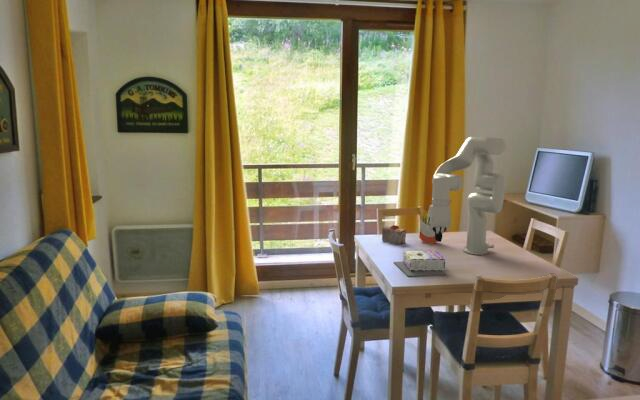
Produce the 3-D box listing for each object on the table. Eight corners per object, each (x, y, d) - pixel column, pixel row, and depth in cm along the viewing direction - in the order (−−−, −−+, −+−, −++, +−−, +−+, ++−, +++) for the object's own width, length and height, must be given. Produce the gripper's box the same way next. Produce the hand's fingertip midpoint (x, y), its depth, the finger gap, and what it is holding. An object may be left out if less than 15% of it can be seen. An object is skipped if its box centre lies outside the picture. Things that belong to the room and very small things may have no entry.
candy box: (435, 261, 235) (402, 262, 234) (436, 250, 234) (403, 250, 233) (444, 271, 221) (409, 271, 220) (445, 259, 220) (410, 259, 219)
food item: (408, 243, 270) (408, 226, 268) (400, 246, 264) (400, 228, 262) (388, 238, 279) (388, 222, 277) (379, 241, 273) (380, 224, 271)
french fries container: (437, 244, 267) (438, 213, 263) (418, 241, 273) (420, 210, 269) (440, 243, 270) (441, 211, 267) (422, 240, 276) (423, 209, 273)
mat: (428, 261, 237) (428, 260, 237) (445, 274, 218) (445, 273, 218) (393, 263, 234) (393, 261, 234) (407, 276, 215) (407, 275, 215)
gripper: (451, 200, 227) (449, 238, 230) (421, 201, 224) (420, 239, 227) (459, 203, 219) (456, 242, 223) (428, 204, 217) (426, 243, 220)
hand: (438, 241), depth 225 cm, fingers closed
